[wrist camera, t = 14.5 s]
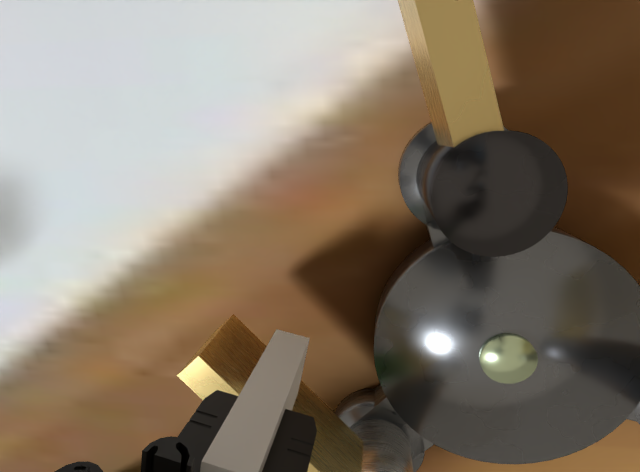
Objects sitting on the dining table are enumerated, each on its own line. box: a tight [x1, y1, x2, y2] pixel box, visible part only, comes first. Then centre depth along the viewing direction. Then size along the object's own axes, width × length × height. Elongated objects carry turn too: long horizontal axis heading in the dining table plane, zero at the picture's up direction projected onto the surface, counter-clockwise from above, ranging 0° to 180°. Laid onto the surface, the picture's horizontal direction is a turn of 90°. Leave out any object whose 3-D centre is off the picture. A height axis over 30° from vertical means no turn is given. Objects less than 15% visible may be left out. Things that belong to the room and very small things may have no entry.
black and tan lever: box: [398, 0, 568, 257], centre depth 12 cm, size 12×4×6 cm, turn 19°
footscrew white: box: [177, 314, 413, 472], centre depth 17 cm, size 12×4×6 cm, turn 45°
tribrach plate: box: [335, 122, 640, 472], centre depth 18 cm, size 20×18×2 cm
